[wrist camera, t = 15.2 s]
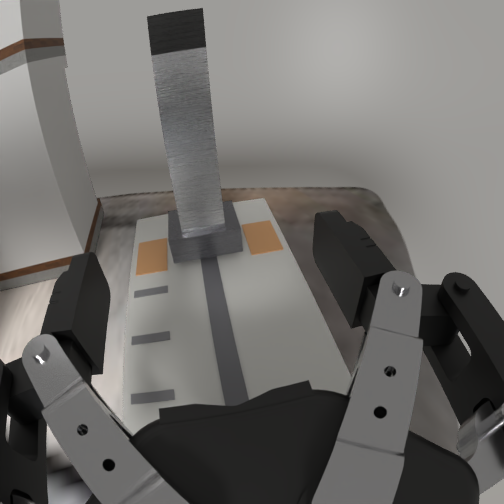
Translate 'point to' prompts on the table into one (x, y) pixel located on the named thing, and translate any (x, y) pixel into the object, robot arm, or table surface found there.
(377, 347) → the robot arm
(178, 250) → the fader
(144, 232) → the console
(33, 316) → the table surface
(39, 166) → the display case
